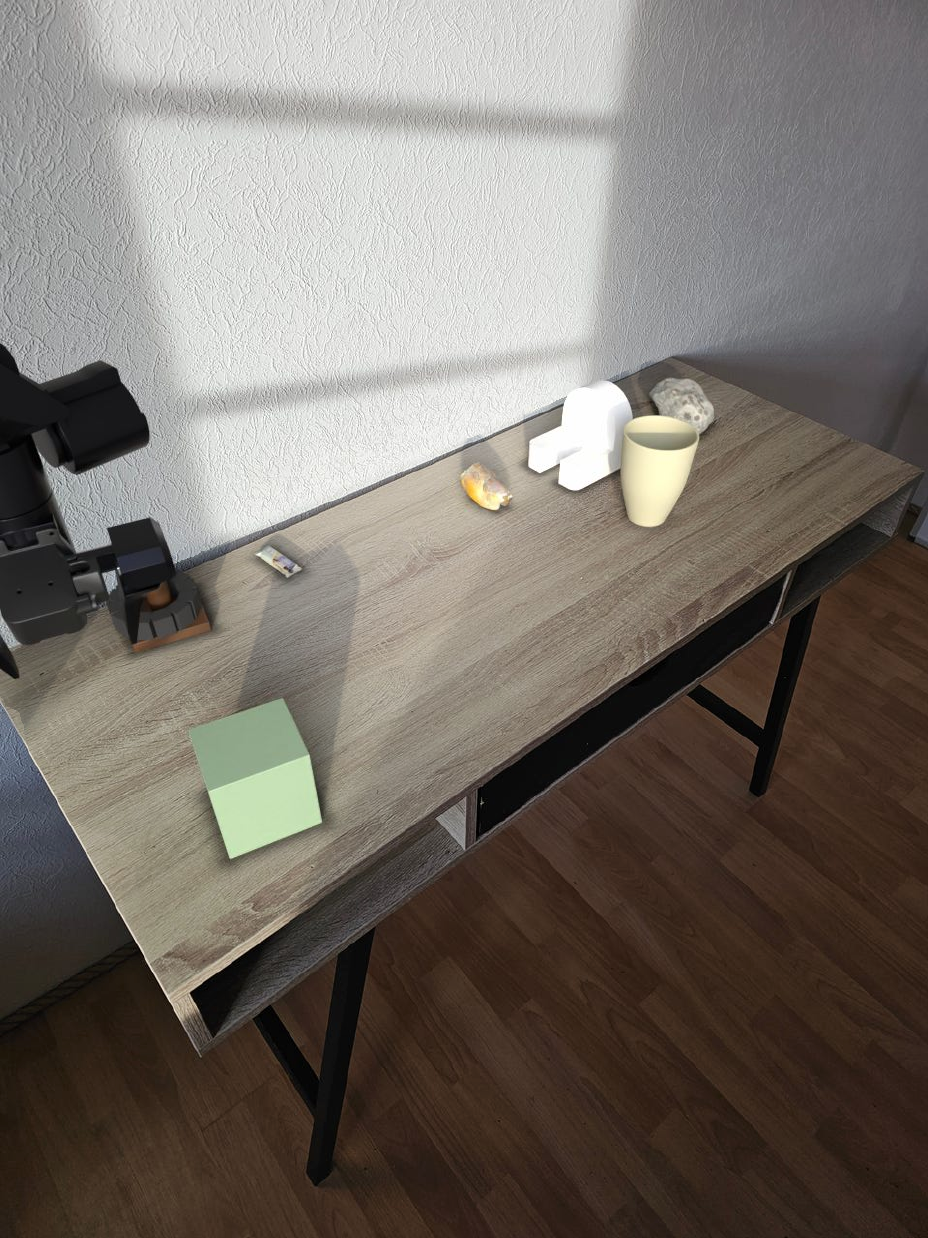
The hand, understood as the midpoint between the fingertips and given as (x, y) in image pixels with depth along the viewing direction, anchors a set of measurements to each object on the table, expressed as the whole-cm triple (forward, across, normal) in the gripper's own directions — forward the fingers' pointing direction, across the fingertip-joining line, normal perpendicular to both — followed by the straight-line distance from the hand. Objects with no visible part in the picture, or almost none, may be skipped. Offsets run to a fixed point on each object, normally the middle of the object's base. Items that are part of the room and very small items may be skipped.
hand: (76, 658), depth 68 cm
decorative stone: (+12, +89, +30) cm, 95 cm away
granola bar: (+12, +22, +21) cm, 33 cm away
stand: (+12, +8, +17) cm, 22 cm away
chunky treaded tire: (+11, +7, +17) cm, 22 cm away
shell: (+12, +51, +22) cm, 57 cm away
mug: (+12, +68, +11) cm, 70 cm away
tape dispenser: (+12, +70, +26) cm, 76 cm away
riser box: (+12, +10, -12) cm, 20 cm away
